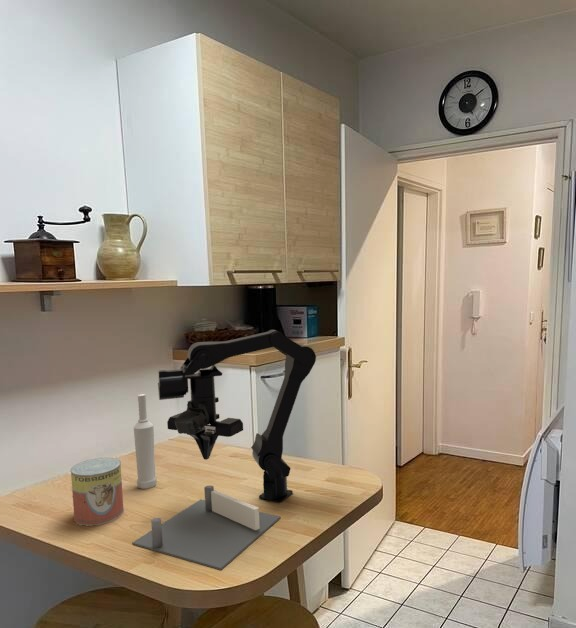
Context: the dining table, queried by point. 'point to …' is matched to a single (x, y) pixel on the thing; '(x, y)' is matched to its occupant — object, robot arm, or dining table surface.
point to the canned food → (97, 491)
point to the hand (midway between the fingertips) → (206, 459)
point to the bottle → (144, 447)
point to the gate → (231, 508)
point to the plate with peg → (203, 536)
